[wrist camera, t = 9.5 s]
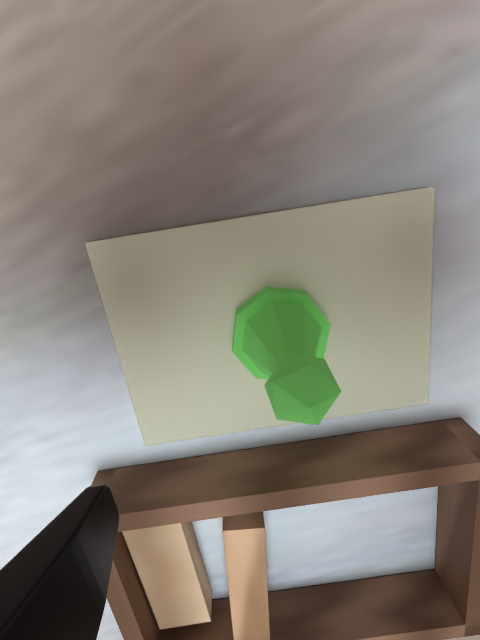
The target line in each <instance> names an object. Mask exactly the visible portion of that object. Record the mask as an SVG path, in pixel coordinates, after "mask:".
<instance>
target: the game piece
mask: <svg viewBox="0 0 480 640" xmlns="http://www.w3.org/2000/svg"><path fill="white" fill-rule="evenodd" d="M330 326H331V324H330V323H329V322H328V320H327V319H326V318H325V316H324V315H323V314H322V312H321V311H320V310H319V308H318V307H317V306H316V305H315V303H314V302H313V301H312V299H311V298H310V297H309V295H308V294H307V293H306V292H305V290H295V289H285V288H276V287H265V288H264V289H263V290H261V291H260V292H259V293H257V294H256V295H255V296H254V297H252V298H251V299H250V300H248V301H247V302H246V303H244V304H243V305H242V306H241V307H239V308H238V309H237V310H236V315H235V324H234V333H233V342H232V352H233V353H234V354H235V356H236V357H237V358H238V359H239V360H240V361H241V362H242V363H243V365H244V366H245V367H246V368H247V369H248V370H249V371H250V372H251V373H252V375H253V376H254V377H255V378H257V379H268V380H267V382H266V383H265V385H264V386H265V389H266V392H267V394H268V397H269V400H270V403H271V405H272V408H273V411H274V413H275V416H276V419H277V420H284V421H291V422H299V423H307V424H314V425H319V423H320V422H321V420H322V419H323V417H324V416H325V415H326V413H327V412H328V410H329V409H330V408H331V406H332V405H333V403H334V402H335V400H336V399H337V398H338V396H339V395H340V393H341V390H340V388H339V386H338V384H337V382H336V380H335V378H334V376H333V374H332V372H331V370H330V368H329V366H328V364H327V362H326V360H325V359H324V355H325V350H326V345H327V341H328V336H329V331H330Z"/></svg>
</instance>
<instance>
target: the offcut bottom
mask: <svg viewBox="0 0 480 640" xmlns="http://www.w3.org/2000/svg"><path fill="white" fill-rule="evenodd" d="M122 533H123V536H124V538H125V541H126V543H127V546H128V549H129V551H130V554H131V556H132V559H133V561H134V564H135V566H136V569H137V572H138V574H139V577H140V579H141V582H142V584H143V587H144V590H145V592H146V595H147V597H148V600H149V602H150V605H151V607H152V610H153V613H154V615H155V618H156V620H157V623H158V625H159V628H160V629H166V628H173V627H179V626H185V625H192V624H198V623H205V622H211V609H212V590H211V586H210V583H209V580H208V576H207V573H206V569H205V566H204V563H203V559H202V556H201V552H200V549H199V546H198V542H197V539H196V536H195V532H194V529H193V525H192V522H184V523H178V524H171V525H164V526H157V527H150V528H143V529H136V530H129V531H122Z"/></svg>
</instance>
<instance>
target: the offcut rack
mask: <svg viewBox="0 0 480 640" xmlns="http://www.w3.org/2000/svg"><path fill="white" fill-rule="evenodd" d="M101 484H107V485H108V486H109V487H110V489H111V491H112V494H113V497H114V500H115V503H116V505H117V508H118V511H119V527H118V533H117V539H116V545H115V551H114V557H113V563H112V569H111V575H110V581H109V587H108V592H107V600H108V602H109V605H110V607H111V610H112V612H113V614H114V617H115V619H116V622H117V624H118V626H119V629H120V631H121V634H122V636H123V638H124V640H234V637H233V627H232V617H231V607H230V598H225V599H218V600H212V609H211V622H205V623H198V624H192V625H185V626H179V627H173V628H166V629H160V628H159V625H158V623H157V620H156V618H155V615H154V613H153V610H152V607H151V605H150V602H149V600H148V597H147V595H146V592H145V590H144V587H143V584H142V582H141V579H140V577H139V574H138V572H137V569H136V566H135V564H134V561H133V559H132V556H131V554H130V551H129V549H128V546H127V543H126V541H125V538H124V536H123V533H122V531H129V530H136V529H143V528H150V527H157V526H164V525H171V524H178V523H184V522H191V521H198V520H205V519H212V518H219V517H226V516H233V515H240V514H247V513H254V512H261V511H268V510H275V509H282V508H289V507H296V506H303V505H310V504H316V503H323V502H330V501H337V500H344V499H351V498H358V497H365V496H372V495H379V494H386V493H393V492H400V491H407V490H414V489H421V488H428V487H435V486H439V490H438V511H437V532H436V553H435V569H433V570H426V571H419V572H412V573H405V574H397V575H390V576H383V577H376V578H369V579H362V580H354V581H347V582H340V583H333V584H326V585H318V586H311V587H304V588H297V589H290V590H282V591H275V592H268V608H269V629H270V640H443V639H450V638H458V637H465V636H473V635H480V435H479V434H478V433H477V432H476V431H475V430H474V429H473V428H472V427H471V426H469V425H468V424H467V423H466V422H465V421H464V420H463V419H462V418H455V419H448V420H442V421H435V422H428V423H421V424H415V425H408V426H401V427H394V428H387V429H381V430H374V431H367V432H360V433H354V434H347V435H340V436H333V437H327V438H320V439H313V440H306V441H299V442H293V443H286V444H279V445H272V446H266V447H259V448H252V449H245V450H239V451H232V452H225V453H218V454H211V455H205V456H198V457H191V458H184V459H178V460H171V461H164V462H157V463H150V464H144V465H137V466H130V467H123V468H117V469H110V470H103V471H98V472H97V474H96V476H95V478H94V481H93V483H92V485H91V486H94V485H101Z"/></svg>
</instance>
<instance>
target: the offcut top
mask: <svg viewBox="0 0 480 640" xmlns="http://www.w3.org/2000/svg"><path fill="white" fill-rule="evenodd" d="M223 538H224V548H225V558H226V568H227V578H228V588H229V597H230V607H231V617H232V627H233V637H234V640H270V629H269V608H268V587H267V566H266V545H265V526H264V517H263V511H261V512H254V513H247V514H240V515H233V516H226V517H223Z"/></svg>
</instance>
